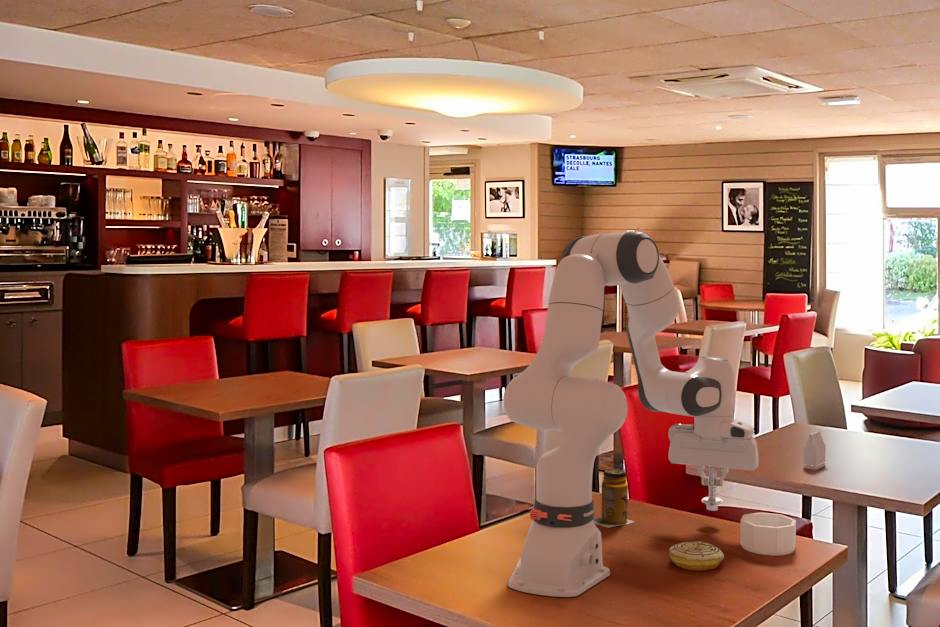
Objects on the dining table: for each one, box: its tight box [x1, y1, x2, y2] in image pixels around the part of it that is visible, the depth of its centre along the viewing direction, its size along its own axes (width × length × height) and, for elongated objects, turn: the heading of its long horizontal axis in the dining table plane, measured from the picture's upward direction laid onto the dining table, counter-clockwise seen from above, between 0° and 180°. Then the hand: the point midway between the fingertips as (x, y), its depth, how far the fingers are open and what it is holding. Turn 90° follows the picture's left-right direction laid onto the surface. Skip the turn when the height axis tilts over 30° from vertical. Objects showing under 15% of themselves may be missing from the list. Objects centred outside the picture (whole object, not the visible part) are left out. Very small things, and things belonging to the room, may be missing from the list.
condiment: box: [593, 468, 635, 529], centre depth 225 cm, size 7×8×12 cm
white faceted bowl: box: [739, 511, 797, 557], centre depth 205 cm, size 11×11×6 cm
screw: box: [701, 466, 724, 512], centre depth 222 cm, size 13×5×5 cm
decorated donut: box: [668, 540, 725, 572], centre depth 195 cm, size 10×11×4 cm
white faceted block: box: [803, 430, 826, 471], centre depth 278 cm, size 4×7×10 cm, turn 139°
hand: (712, 485), depth 222 cm, fingers closed on screw, 2 cm apart
